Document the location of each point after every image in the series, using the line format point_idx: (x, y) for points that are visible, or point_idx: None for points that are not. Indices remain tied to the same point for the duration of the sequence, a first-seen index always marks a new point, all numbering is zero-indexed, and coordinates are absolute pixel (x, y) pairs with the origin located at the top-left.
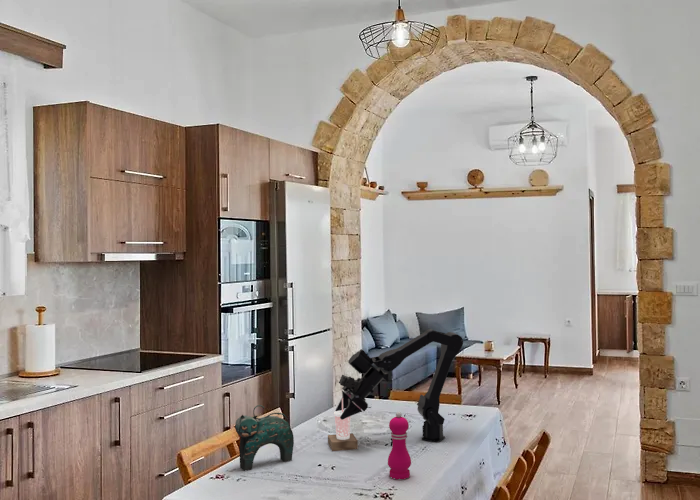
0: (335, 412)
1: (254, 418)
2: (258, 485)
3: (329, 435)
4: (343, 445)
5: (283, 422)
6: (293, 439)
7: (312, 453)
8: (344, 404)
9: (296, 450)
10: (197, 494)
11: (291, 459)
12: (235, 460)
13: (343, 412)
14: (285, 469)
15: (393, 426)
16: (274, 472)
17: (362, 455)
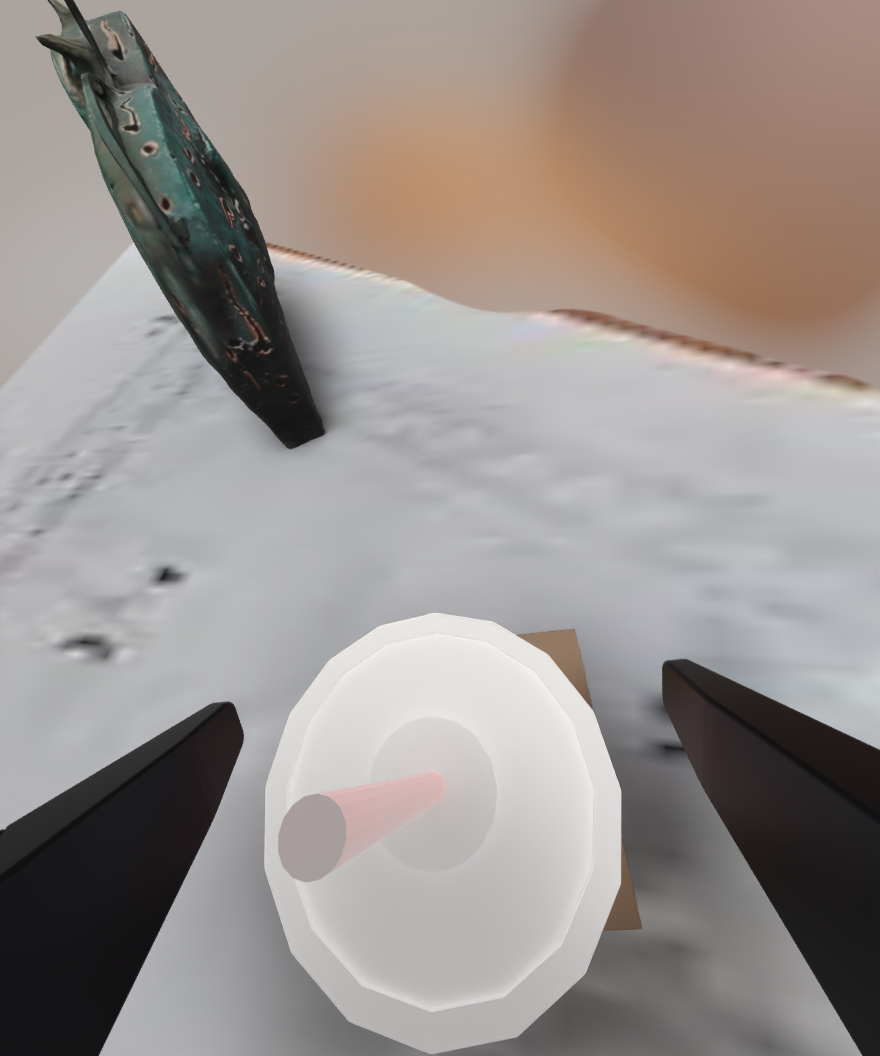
0: (484, 644)
1: (65, 58)
2: (79, 372)
3: (560, 642)
4: None
5: (118, 208)
6: (220, 373)
7: (366, 540)
8: (858, 939)
9: (441, 460)
10: (113, 264)
11: (284, 444)
12: (362, 280)
13: (116, 770)
14: (184, 434)
15: None
16: (172, 402)
17: (203, 921)
